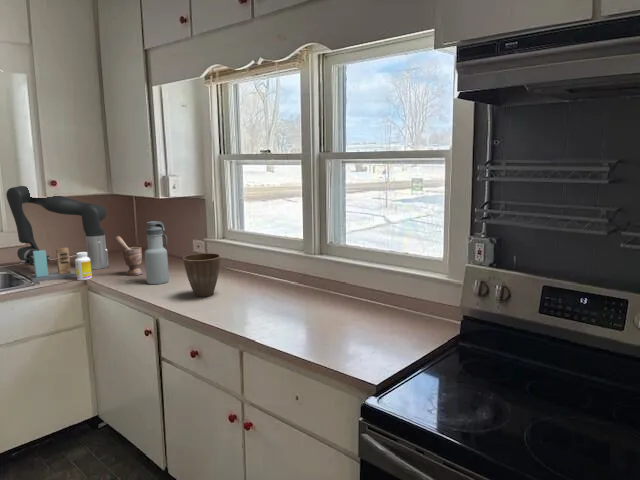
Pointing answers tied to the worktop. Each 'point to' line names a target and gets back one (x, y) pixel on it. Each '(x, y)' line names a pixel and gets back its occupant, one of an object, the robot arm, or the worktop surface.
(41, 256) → the teal rectangular block
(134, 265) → the mortar and pestle
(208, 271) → the plant pot
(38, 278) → the key base
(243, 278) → the worktop surface
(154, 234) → the water bottle
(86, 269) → the supplement bottle
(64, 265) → the tan tall block
